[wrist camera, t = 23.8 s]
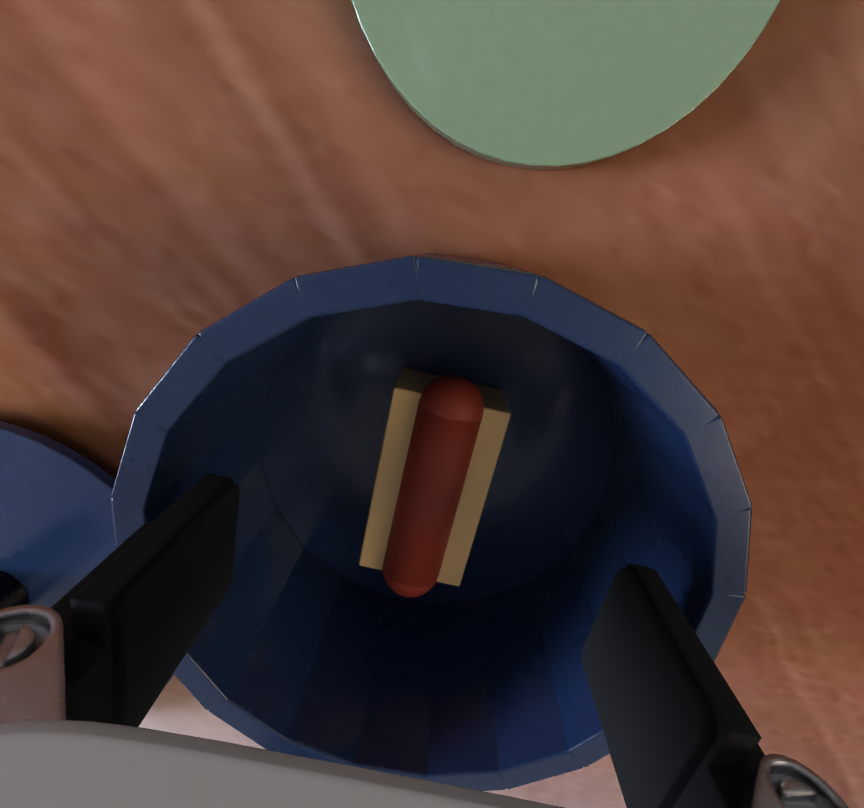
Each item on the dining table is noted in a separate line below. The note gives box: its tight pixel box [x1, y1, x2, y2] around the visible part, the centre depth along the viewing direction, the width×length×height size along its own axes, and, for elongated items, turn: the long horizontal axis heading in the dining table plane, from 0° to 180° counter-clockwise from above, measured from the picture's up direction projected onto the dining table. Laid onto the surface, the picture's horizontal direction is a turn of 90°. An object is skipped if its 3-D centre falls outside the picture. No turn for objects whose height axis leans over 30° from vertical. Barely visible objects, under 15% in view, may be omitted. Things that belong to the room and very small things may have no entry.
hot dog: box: [359, 368, 511, 597], centre depth 15 cm, size 8×4×3 cm, turn 168°
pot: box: [111, 253, 752, 791], centre depth 14 cm, size 15×15×7 cm
